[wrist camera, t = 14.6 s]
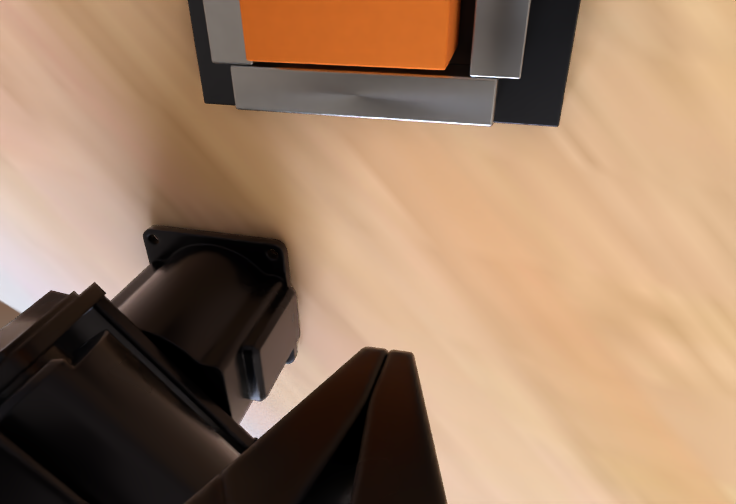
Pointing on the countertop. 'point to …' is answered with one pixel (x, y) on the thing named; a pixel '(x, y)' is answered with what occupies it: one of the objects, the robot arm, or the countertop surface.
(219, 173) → the countertop surface
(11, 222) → the countertop surface
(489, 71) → the mount plate
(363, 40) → the orange block
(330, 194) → the countertop surface
